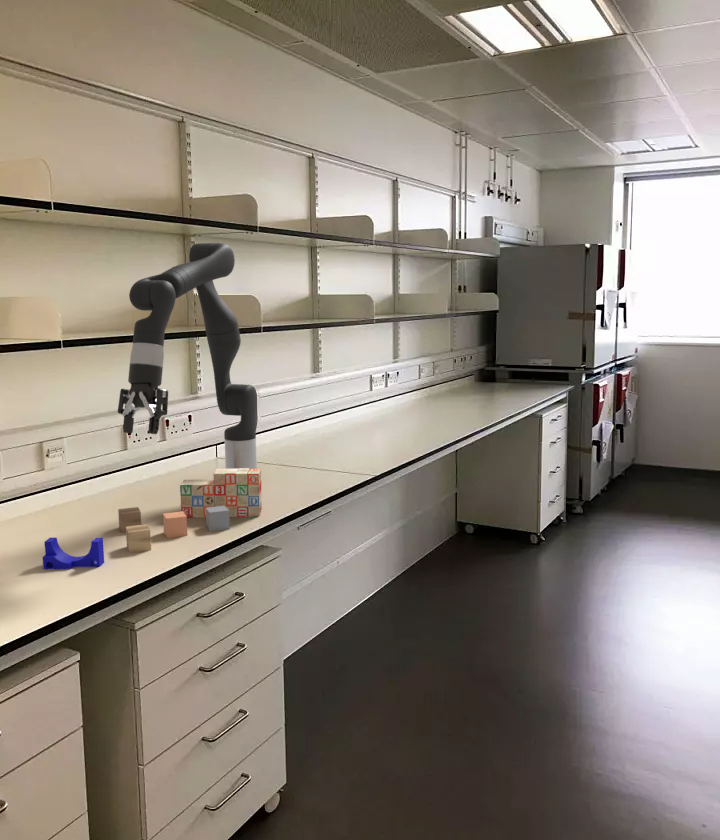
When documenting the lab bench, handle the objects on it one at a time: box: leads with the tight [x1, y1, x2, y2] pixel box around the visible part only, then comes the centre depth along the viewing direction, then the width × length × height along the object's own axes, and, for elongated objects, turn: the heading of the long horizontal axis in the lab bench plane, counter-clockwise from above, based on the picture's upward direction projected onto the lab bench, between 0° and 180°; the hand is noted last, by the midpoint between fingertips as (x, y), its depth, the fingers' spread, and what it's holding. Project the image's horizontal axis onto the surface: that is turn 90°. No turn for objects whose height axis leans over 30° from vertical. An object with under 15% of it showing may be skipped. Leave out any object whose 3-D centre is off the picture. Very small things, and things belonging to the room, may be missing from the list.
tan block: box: [117, 506, 142, 534], centre depth 204 cm, size 5×5×5 cm
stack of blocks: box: [179, 468, 263, 518], centre depth 216 cm, size 21×6×12 cm, turn 91°
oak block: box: [125, 523, 152, 554], centre depth 189 cm, size 5×5×5 cm
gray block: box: [205, 506, 231, 532], centre depth 205 cm, size 5×5×5 cm
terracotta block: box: [162, 510, 188, 539], centre depth 200 cm, size 5×5×5 cm
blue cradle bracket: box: [42, 537, 105, 570], centre depth 177 cm, size 12×4×6 cm, turn 88°
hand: (140, 433), depth 185 cm, fingers open, 8 cm apart
